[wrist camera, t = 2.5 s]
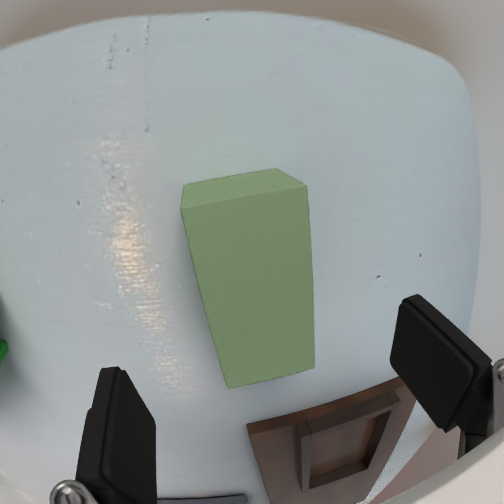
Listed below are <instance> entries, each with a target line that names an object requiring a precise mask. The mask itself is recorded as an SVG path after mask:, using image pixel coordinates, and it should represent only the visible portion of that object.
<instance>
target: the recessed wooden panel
mask: <svg viewBox="0 0 504 504" xmlns="http://www.w3.org/2000/svg"><path fill="white" fill-rule="evenodd" d="M416 400H417V399H416V398H415V396H414V395H413V394H412V393H411V391H410V390H409V389H408V387H407V386H406V385H405V383H404V382H403V381H402V379H401V378H400V377H397V378H394V379H392V380H389V381H387V382H385V383H382V384H380V385H377V386H374V387H372V388H369V389H367V390H364V391H361V392H358V393H356V394H353V395H350V396H347V397H344V398H341V399H338V400H335V401H332V402H329V403H326V404H323V405H320V406H316V407H313V408H310V409H306V410H303V411H299V412H295V413H292V414H288V415H284V416H280V417H276V418H272V419H268V420H263V421H259V422H254V423H250V424H246V426H247V430H248V434H249V438H250V441H251V444H252V448H253V451H254V454H255V457H256V460H257V463H258V466H259V469H260V472H261V476H262V479H263V482H264V485H265V487H266V490H267V493H268V496H269V499H270V502H271V504H356V503H358V502H361V501H363V500H365V498H366V497H367V495H368V494H369V492H370V490H371V489H372V487H373V485H374V484H375V482H376V480H377V479H378V477H379V475H380V474H381V472H382V470H383V468H384V467H385V465H386V463H387V461H388V459H389V457H390V456H391V454H392V452H393V450H394V448H395V446H396V444H397V442H398V440H399V438H400V436H401V434H402V432H403V430H404V427H405V425H406V423H407V421H408V419H409V417H410V414H411V412H412V410H413V407H414V405H415V403H416Z"/></svg>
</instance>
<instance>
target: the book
mask: <svg viewBox="0 0 504 504" xmlns="http://www.w3.org/2000/svg"><path fill="white" fill-rule="evenodd" d="M157 504H248V500H247V496H246V495H240V496H231V497H221V498H208V499H187V500H157Z"/></svg>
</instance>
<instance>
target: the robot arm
mask: <svg viewBox="0 0 504 504" xmlns="http://www.w3.org/2000/svg"><path fill="white" fill-rule="evenodd" d="M491 362H492V360H491V359H490V358H489V357H488V356H487V355H486V354H485V353H484V352H483V351H482V350H481V349H480V348H479V347H478V346H477V345H476V344H474V342H473V341H471V340H470V339H469V338H468V337H467V336H466V335H465V334H464V333H463V332H462V331H461V330H459V329H458V328H457V327H456V326H455V325H454V324H453V323H452V322H451V321H449V320H448V319H447V318H446V317H445V316H444V315H443V314H442V313H440V312H439V311H438V310H437V309H436V308H435V307H434V306H432V305H431V304H430V303H429V302H428V301H427V300H425V299H424V298H423V297H422V296H421V295H419V294H416V295H413V296H410V297H407V298H405V299H403V301H402V304H400V306H399V310H398V316H397V322H396V328H395V334H394V339H393V345H392V350H391V355H390V364H391V366H392V368H393V369H394V370H395V372H396V373H397V374H398V375H399V377H400V378H401V379H402V381H403V382H404V383H405V385H406V386H407V387H408V389H409V390H410V391H411V393H412V394H413V395H414V396H415V398H416V399H417V400H418V402H419V403H420V404H421V406H422V407H423V409H424V410H425V411H426V413H427V414H428V415H429V417H430V418H431V419H432V421H433V422H434V423H435V425H436V426H437V427H438V428H442V429H443V430H444V432H445V433H447V432H448V431H450V430H452V429H453V428H454V427H456V426H457V425H458V427H459V428H460V429H461V432H460V442H459V450H458V458H457V461H455V462H454V463H452V464H450V465H449V466H447V467H446V468H444V469H443V470H441V471H439V472H438V473H436V474H435V475H433V476H431V477H430V478H428V479H426V480H424V481H423V482H421V483H419V484H417V485H415V486H414V487H412V488H410V489H408V490H406V491H404V492H402V493H400V494H398V495H396V496H394V497H392V498H390V499H388V500H386V501H384V502H382V503H379V504H504V358H503V359H500V360H498V361H497V362H496V363H495V364H494V366H492V365H491ZM49 499H50V504H157V486H156V424H155V421H154V418H153V416H152V415H151V413H150V412H149V410H148V408H147V407H146V405H145V403H144V402H143V400H142V398H141V397H140V395H139V393H138V392H137V390H136V388H135V386H134V385H133V383H132V381H131V379H130V377H129V376H128V374H127V372H126V371H125V370H121V369H120V368H119V367H109V368H102V369H101V371H100V374H99V378H98V382H97V386H96V390H95V395H94V399H93V404H92V408H90V409H89V410H88V412H87V416H86V420H85V425H84V430H83V435H82V441H81V446H80V452H79V458H78V464H77V471H76V478H75V480H64V481H62V482H60V483H58V484H57V485H56V486H55V487H54V488H53V490H52V491H51V494H50V498H49Z"/></svg>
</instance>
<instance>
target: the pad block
mask: <svg viewBox="0 0 504 504" xmlns="http://www.w3.org/2000/svg"><path fill="white" fill-rule="evenodd" d="M181 213H182V218H183V222H184V227H185V231H186V236H187V240H188V245H189V249H190V253H191V257H192V261H193V266H194V270H195V274H196V278H197V282H198V286H199V290H200V294H201V298H202V301H203V305H204V309H205V313H206V316H207V320H208V324H209V328H210V331H211V335H212V338H213V342H214V345H215V349H216V352H217V356H218V359H219V363H220V366H221V369H222V373H223V376H224V379H225V383H226V386H227V388H228V389H229V388H234V387H239V386H244V385H249V384H253V383H258V382H262V381H266V380H271V379H275V378H279V377H283V376H287V375H291V374H294V373H298V372H302V371H305V370H309V369H313V368H314V367H315V361H314V300H313V273H312V253H311V235H310V220H309V206H308V193H307V185H305V184H303V183H302V182H300V181H298V180H297V179H295V178H293V177H291V176H290V175H288V174H286V173H284V172H282V171H281V170H279V169H270V170H263V171H257V172H251V173H245V174H239V175H233V176H227V177H222V178H216V179H211V180H206V181H201V182H196V183H191V184H186V185H184V188H183V195H182V202H181Z"/></svg>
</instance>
